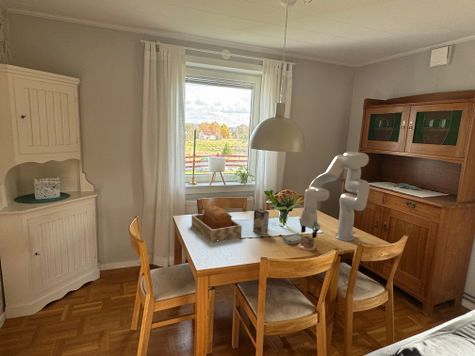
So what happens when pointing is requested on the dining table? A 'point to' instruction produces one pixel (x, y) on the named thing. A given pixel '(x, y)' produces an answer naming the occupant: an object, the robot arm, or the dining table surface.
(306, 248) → the coaster
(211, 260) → the dining table surface
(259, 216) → the coffee box
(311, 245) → the walnut block
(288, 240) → the push bar
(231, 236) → the bread crate
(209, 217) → the bread
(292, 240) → the channel
